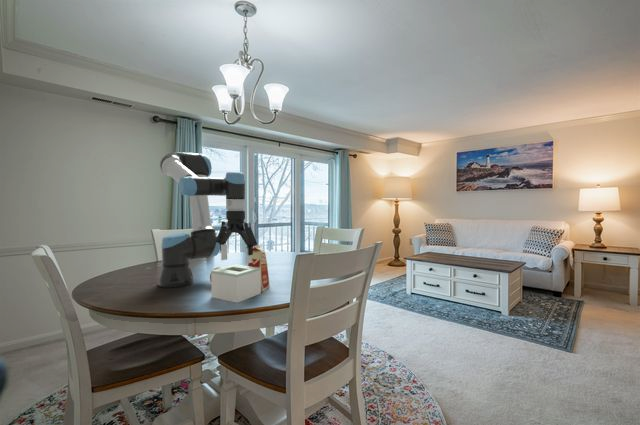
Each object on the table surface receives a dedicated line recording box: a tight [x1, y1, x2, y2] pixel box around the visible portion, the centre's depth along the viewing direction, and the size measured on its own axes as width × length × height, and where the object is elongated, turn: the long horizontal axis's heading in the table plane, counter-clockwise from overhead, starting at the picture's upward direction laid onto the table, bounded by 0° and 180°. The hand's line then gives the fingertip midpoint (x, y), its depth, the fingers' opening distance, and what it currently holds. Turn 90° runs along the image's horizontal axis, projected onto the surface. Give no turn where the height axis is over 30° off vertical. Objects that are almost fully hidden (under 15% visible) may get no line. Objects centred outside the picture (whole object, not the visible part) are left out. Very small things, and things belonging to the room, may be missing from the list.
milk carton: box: [247, 244, 271, 292], centre depth 149 cm, size 9×9×20 cm
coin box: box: [210, 263, 262, 303], centre depth 138 cm, size 14×14×11 cm
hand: (236, 261), depth 138 cm, fingers open, 13 cm apart
